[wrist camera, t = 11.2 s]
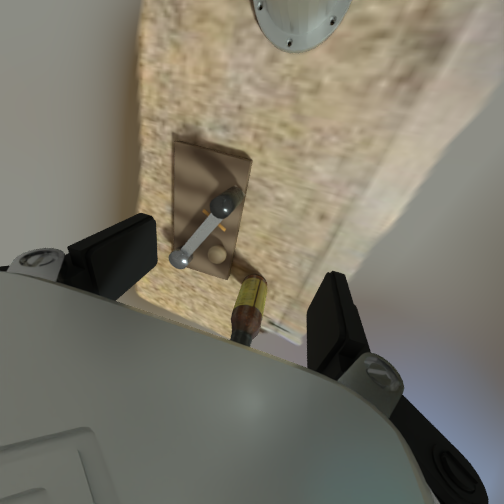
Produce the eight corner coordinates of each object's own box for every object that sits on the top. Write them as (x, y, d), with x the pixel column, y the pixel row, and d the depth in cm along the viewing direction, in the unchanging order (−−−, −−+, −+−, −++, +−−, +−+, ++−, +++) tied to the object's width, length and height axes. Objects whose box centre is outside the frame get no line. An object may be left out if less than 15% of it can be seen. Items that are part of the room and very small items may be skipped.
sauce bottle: (239, 285, 51) (208, 357, 35) (251, 268, 48) (223, 339, 31) (261, 297, 52) (241, 375, 35) (274, 282, 49) (259, 359, 32)
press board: (180, 141, 38) (161, 141, 32) (252, 160, 36) (244, 164, 31) (177, 258, 52) (164, 272, 47) (229, 275, 51) (221, 290, 45)
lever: (187, 265, 49) (164, 291, 41) (172, 253, 48) (145, 277, 40) (252, 195, 37) (238, 211, 29) (234, 177, 36) (214, 189, 28)
